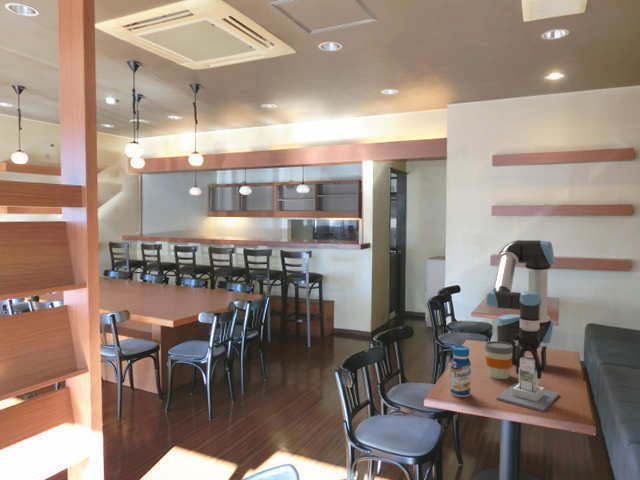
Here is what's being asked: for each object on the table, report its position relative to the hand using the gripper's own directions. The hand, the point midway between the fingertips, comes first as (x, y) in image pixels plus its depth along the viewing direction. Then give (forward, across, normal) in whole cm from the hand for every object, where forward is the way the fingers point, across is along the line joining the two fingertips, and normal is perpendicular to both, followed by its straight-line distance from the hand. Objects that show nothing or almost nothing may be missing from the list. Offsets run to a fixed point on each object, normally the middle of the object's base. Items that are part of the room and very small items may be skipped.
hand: (528, 383), depth 188 cm
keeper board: (+6, 0, 0) cm, 6 cm away
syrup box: (+4, 0, 0) cm, 4 cm away
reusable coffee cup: (+6, -19, +18) cm, 27 cm away
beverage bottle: (+6, -23, -15) cm, 28 cm away
